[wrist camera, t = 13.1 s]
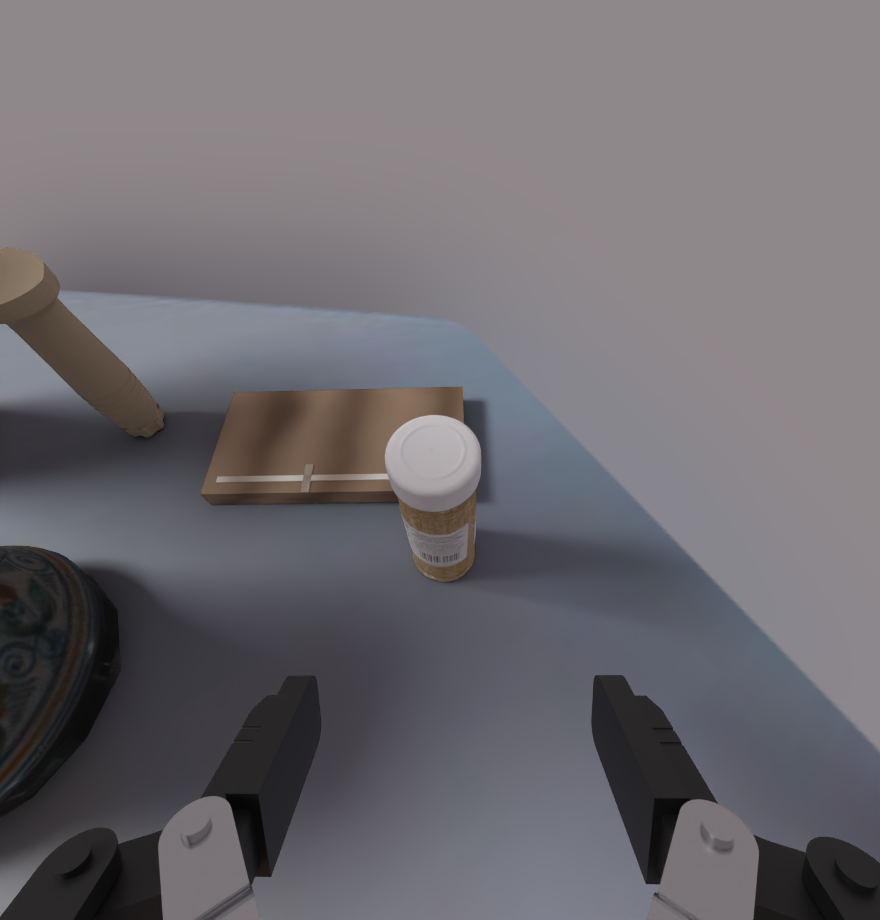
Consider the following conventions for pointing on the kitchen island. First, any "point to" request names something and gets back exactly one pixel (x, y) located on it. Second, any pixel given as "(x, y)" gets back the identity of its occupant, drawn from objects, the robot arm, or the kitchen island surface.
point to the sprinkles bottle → (437, 492)
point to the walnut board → (315, 444)
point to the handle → (71, 345)
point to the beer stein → (49, 665)
